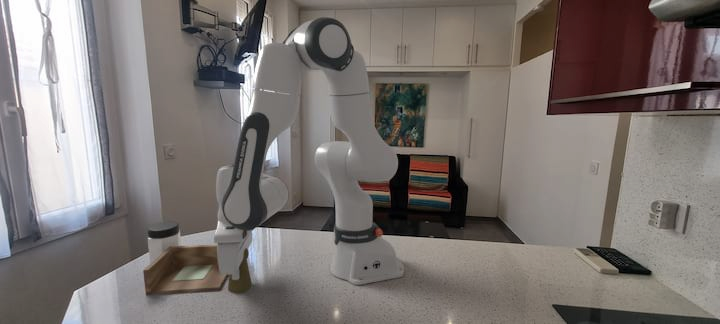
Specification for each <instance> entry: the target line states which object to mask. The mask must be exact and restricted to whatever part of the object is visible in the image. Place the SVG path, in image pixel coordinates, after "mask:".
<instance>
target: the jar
mask: <svg viewBox="0 0 720 324" xmlns="http://www.w3.org/2000/svg"><path fill="white" fill-rule="evenodd" d="M147 235H148V237H147V245H148V246H147V247H148V255H149V257H148V258H149V265H150V264H151V263H152V262H153V261H154V260H155V259H156V258H157V257H158V256H160V255H161V254H162V253H163V252H164V251H165V250H166V249H167V248H168V247H172V246H182V240H181V230H180V224H179V222H178V221H171V220H170V221H162V222H157V223H154V224H151V225H149V226H148V227H147Z"/></svg>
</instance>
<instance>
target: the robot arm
mask: <svg viewBox="0 0 720 324" xmlns="http://www.w3.org/2000/svg"><path fill="white" fill-rule="evenodd" d="M309 70H312V71H313V70H314V71H319V70H321V71H322V72H323V74H324V75H325V77H326V81H327V83H328V84H327V85H328V86H327V87H328V88H327V89H328V99H329V109H330V118H331V121H332V122H331V123H332V124H333V126H334V127H335V128H336V129H337V130H339V131H341V132H342V134H344V135H345V136H346V138H347V139H348V141H344V140H342V141H341V140H334V141H328V142H327V141H326V142H324V143H321V144H320V145H319V146H318V148H317V149H316V151H315V153H314V163H315V167H316V169H317V170H318V172H319V174H321V175H322V176H323V177H324V178H325V179H326V181H327V183H328V185H329V187H330V189H331V192H332V193H333V194H332V195H333V199H334V205H335V206H334V207H335V208H334V209H335V223H334V227H333V242H334V248H333V254H332V261H331V262H330V263H331V264H330V266H329V270H330V272H331V274H333V275H334V276H335V277H337V278H339V279H341V280H345V281H347V282H349V283H350V284H353V285H355V286H356V285H357V286H360V285H364V284H370V283H375V282H381V281H386V280H392V279H398V278H403V276H404V275H405V266H404V264H403V262H402V261H401V259H400V258H399V257H398V256H397V254H396V251H395V249H394V246H393V245H392V244H391V243H390V242H389V241H388V240H386V239H385V238H383V234H384V232H383V229H381V228H380V227H379V226H378V225H377V224H376V223H375V222H373V218H374V217H373V215H374V214H373V211H374V208H373V207H374V203H373V199H372V197H371V196H370V194H368V193H367V192H366V191H365V190H364V189H363V188H362V187H361V186H360V184H359V182H358V181H360V182H368V183H379V182H388V181H390V180H391V179H393V177H394V176H395V175H396V173H397V170H398V168H399V167H398V166H399V158H398V155H397V152H396V151H395V150H394V148H392V146H390V145H389V143H387V142H386V141H385V140H383V138H382V137H381V135H380V134H379V132H378V130H377V128H376V126H375V123H374V120H373V115H372V113H373V112H372V106H371V95H370V82H369V75H368V70H367V66H366V62H365V58H364V56H363V55H362V54H361V53H360V52H359V51H357V50H355V48H354V45H353V43H352V40H351V37H350V34H349V32H348V29H347V28H346V27H345V25H344V24H343V23H342V22H341V21H340V20H338V19H336V18H332V17H325V16H324V17H323V16H322V17H318V18H316V19H312V20H309V21H306V22H303V23H302V24H301V25H299V26H298V27H296V28H294V29H293V30H292V31H290V33H288V35H287V37H286V38H285V39H284V40H283V41H282V42H270V43H267V44H264V45H263V46H262V47H261V49H260V51H259V54H258V57H257V61H256V64H255V69H254V74H253V81H252V89H251V95H250V96H251V98H250V103H249V108H248V111H247V114H246V117H245V119H244V121H243V124H242V126H241V130H240V134H239V138H238V143H237V148H236V152H235V153H236V154H235V158H234V161H233V162H234V163H231V164H227V165H224V166H221V167H220V168H219V169H218V171H217V174H216V180H215V191H216V201H217V203H218V210H217V226H216V230H215V233H214V235H213V242H214V244H217V257H218V265H219V271H220V273H221V274H222V275H227V276H229V274H232V280H238V279H239V278H240V271H239V266H240V264H241V262H242V260H243V258H244V251H245V248H247V250H248V251H249V248H250V246H251V244H252V242H253V231H254V230H255V229H257V228H258V227H259V226H260V225H261V224H262V223H264V222H265V221H266V220H267V219H269V218H270V217H271V216H273V215H275V214H276V213H277V212H279V211H281V210H282V209H283V208H284V207H285V206H286V205H287V203H288V201H289V197H290V193H289V188H288V187H287V184H286V183H285V182H284V180H282V179H281V178H279V177H278V176H272V175H269V174H266V173H264V170H265V164H266V160H267V159H266V158H267V155H268V152H269V149H270V147H271V145H272V144H273V142H274V141H275V140H276V139H277V138H278V136H280V135H281V134H282V133H283V132H285V131H286V130H288V129H289V128H290V127H291V126H292V125H293V124H294V123H295V121H296V118H297V115H298V113H299V108H300V103H301V102H300V101H301V93H302V82H303V80H304V77H305V75H306V73H307V72H308V71H309Z"/></svg>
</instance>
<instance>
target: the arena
mask: <svg viewBox="0 0 720 324" xmlns="http://www.w3.org/2000/svg"><path fill="white" fill-rule="evenodd" d="M217 244H218V243H215V244H197V245H196V244H195V245H181V246H172V247H168V248H167V249H166V250H165V251H164V252H163V253H162V254H161V255H160V256H158V257H157V258H156V259H155V260H154V261H153V262H152V263H151V264H150V263H149V264H148V265H147V266H146V267H145V268H144V269H143V271H142V273H143V280H144V281H143V282H144V289H145V295H149V296H151V295H163V294H164V295H165V294H179V293H193V292H208V291H211V292H212V291H220V290H221V288H222V287H223V284H224V282H225V280H226V278H227V277H228V275H222V274H221V273H220V271H219V265H218V257H217Z"/></svg>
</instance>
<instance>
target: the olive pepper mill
mask: <svg viewBox="0 0 720 324" xmlns="http://www.w3.org/2000/svg"><path fill="white" fill-rule="evenodd" d="M248 258H249V249H248V250H247V248H245V251H244V258H243V260H242V262H241V264H240V266H239V271H240V278H239V279H238V280H232V274H228V284H227V290H228V292H230V293H232V294H238V293H239V294H240V293H244V292H246V291H248V290H249V289H250V288H252V286H253V285H252V279H251V273H250V269H249V263H248Z"/></svg>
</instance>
